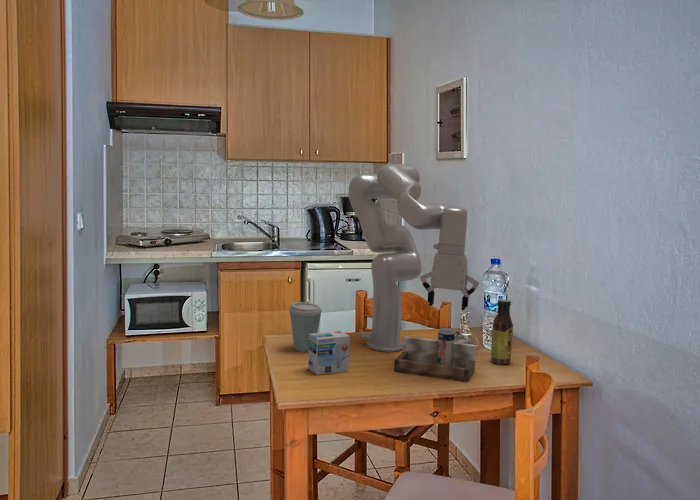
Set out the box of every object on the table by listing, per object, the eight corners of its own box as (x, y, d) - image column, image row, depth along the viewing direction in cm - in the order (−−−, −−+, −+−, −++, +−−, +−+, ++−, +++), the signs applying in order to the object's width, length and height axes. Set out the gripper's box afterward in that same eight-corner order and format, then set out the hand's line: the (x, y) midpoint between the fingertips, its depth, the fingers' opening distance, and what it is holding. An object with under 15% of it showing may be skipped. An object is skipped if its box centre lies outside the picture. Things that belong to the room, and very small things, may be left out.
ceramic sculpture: (456, 336, 195) (429, 328, 209) (455, 364, 196) (429, 354, 209) (484, 334, 200) (456, 326, 213) (483, 361, 200) (456, 351, 214)
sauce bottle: (511, 366, 196) (515, 303, 194) (490, 364, 198) (494, 301, 195) (510, 360, 203) (514, 299, 200) (490, 358, 204) (494, 297, 201)
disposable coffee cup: (321, 345, 213) (322, 301, 211) (320, 354, 202) (321, 308, 200) (289, 344, 212) (290, 300, 210) (287, 353, 202) (288, 307, 200)
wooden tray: (393, 371, 188) (395, 345, 187) (404, 361, 198) (405, 336, 197) (468, 382, 180) (469, 354, 179) (474, 371, 190) (476, 345, 189)
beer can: (435, 366, 191) (436, 327, 189) (450, 366, 191) (452, 327, 190) (438, 371, 186) (440, 331, 185) (454, 371, 186) (456, 331, 185)
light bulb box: (316, 375, 182) (317, 339, 180) (307, 368, 188) (308, 333, 186) (349, 371, 187) (350, 335, 185) (339, 364, 193) (340, 330, 191)
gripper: (419, 248, 184) (415, 306, 186) (479, 254, 178) (474, 313, 180) (425, 245, 190) (421, 300, 193) (483, 251, 185) (478, 308, 187)
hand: (447, 307), depth 187 cm, fingers open, 9 cm apart
